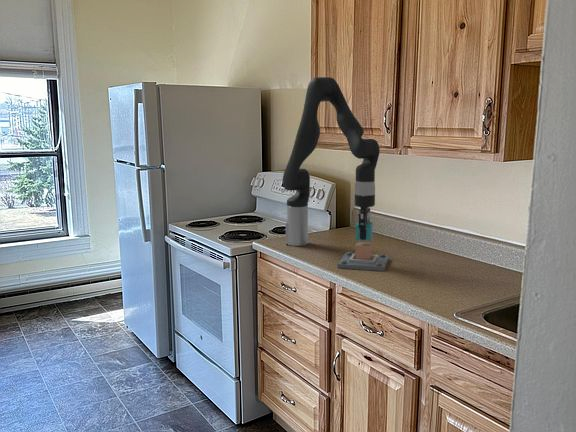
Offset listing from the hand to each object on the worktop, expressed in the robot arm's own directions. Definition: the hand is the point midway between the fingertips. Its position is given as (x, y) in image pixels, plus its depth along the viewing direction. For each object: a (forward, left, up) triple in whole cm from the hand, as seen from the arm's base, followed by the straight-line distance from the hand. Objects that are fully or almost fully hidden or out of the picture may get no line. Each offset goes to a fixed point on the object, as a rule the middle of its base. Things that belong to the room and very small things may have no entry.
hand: (364, 237), depth 200 cm
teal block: (0, 0, -1) cm, 1 cm away
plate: (0, 0, -10) cm, 10 cm away
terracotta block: (0, 0, -9) cm, 9 cm away
